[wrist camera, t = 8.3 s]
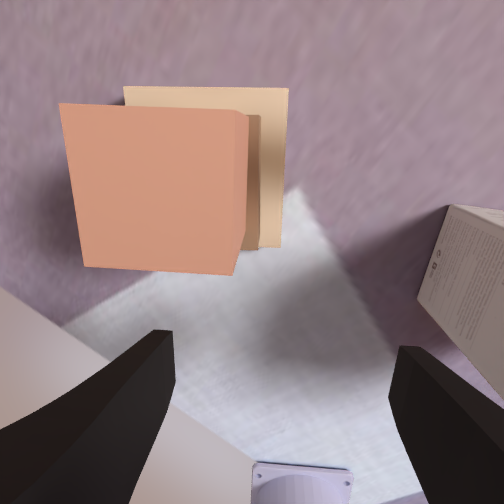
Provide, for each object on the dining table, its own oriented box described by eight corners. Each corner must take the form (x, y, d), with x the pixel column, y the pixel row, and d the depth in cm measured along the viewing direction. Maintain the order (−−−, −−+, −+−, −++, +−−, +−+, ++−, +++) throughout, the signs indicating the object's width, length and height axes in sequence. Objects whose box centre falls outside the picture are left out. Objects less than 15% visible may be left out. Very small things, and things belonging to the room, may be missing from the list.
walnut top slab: (259, 234, 18) (257, 250, 16) (153, 232, 18) (135, 247, 16) (261, 117, 16) (258, 114, 14) (140, 117, 16) (118, 115, 14)
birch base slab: (279, 234, 21) (280, 247, 18) (154, 229, 21) (139, 242, 19) (286, 93, 18) (288, 88, 15) (142, 91, 18) (123, 86, 16)
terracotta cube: (245, 231, 15) (232, 275, 11) (141, 225, 16) (84, 266, 11) (248, 116, 14) (235, 109, 9) (131, 112, 14) (58, 103, 9)
